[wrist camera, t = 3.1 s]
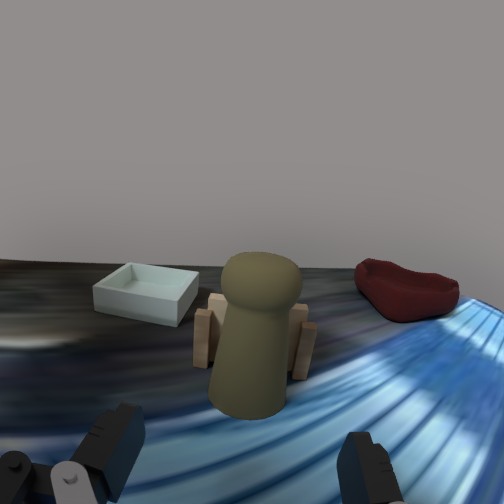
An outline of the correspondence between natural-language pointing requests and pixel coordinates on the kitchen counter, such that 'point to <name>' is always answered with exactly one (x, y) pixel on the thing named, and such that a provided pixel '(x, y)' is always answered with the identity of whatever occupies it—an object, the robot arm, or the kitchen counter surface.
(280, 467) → the kitchen counter surface
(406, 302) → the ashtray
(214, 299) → the bracket
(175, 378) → the kitchen counter surface
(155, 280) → the tray
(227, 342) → the cork
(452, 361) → the kitchen counter surface
